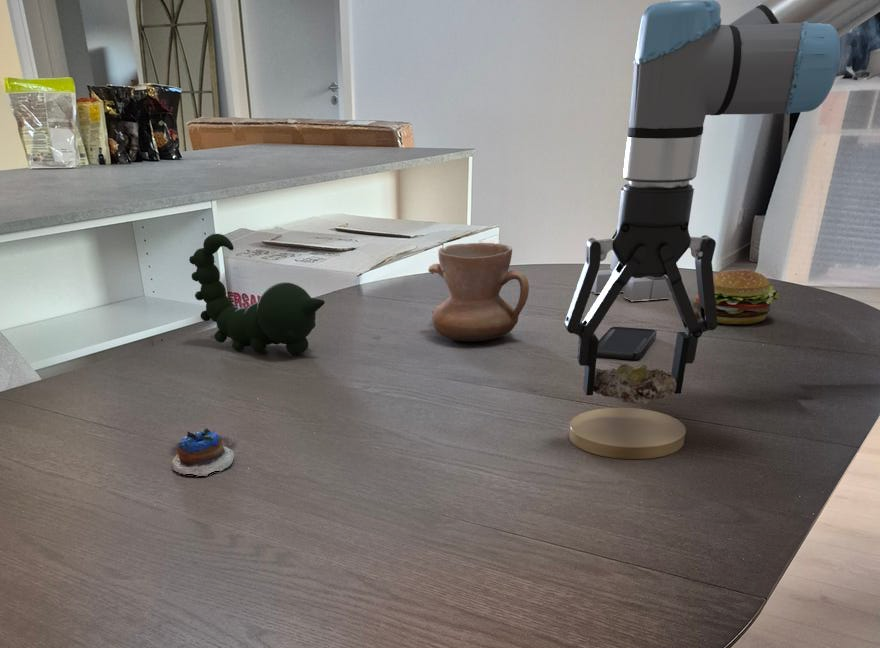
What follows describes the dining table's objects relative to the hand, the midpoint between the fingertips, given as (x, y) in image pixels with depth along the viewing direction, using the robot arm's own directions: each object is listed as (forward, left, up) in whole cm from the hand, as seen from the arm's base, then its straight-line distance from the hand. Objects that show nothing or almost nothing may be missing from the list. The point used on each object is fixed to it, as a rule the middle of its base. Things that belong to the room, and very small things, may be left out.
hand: (631, 391), depth 102 cm
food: (-31, -58, -6) cm, 66 cm away
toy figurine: (+52, -44, -6) cm, 68 cm away
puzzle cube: (-16, -78, -6) cm, 80 cm away
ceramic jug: (+16, -49, -6) cm, 52 cm away
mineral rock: (0, 0, 0) cm, 0 cm away
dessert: (+52, +6, -6) cm, 53 cm away
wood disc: (0, 0, -6) cm, 6 cm away
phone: (-8, -41, -6) cm, 42 cm away
